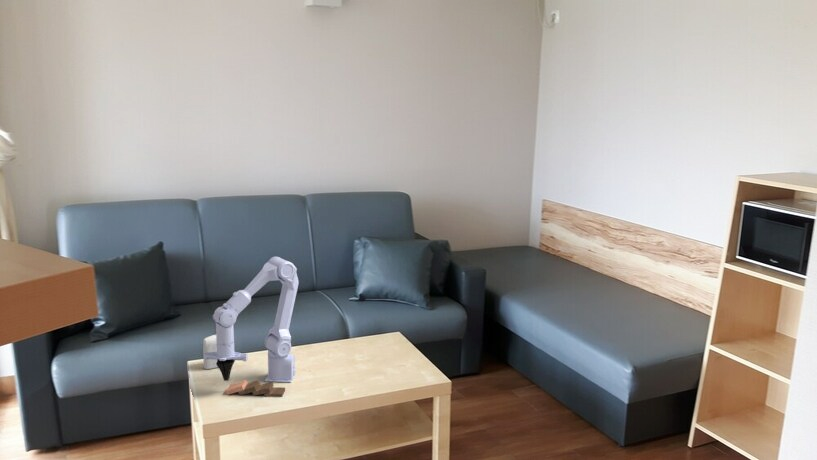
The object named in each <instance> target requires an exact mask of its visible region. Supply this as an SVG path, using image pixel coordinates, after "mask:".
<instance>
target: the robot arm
mask: <svg viewBox="0 0 817 460" xmlns="http://www.w3.org/2000/svg"><path fill="white" fill-rule="evenodd" d="M297 270H298V268H297V267H296V266H295V265H294V263H293V262H291V261H288V260H286V259H283V258H281V257H279V256H272V257H271V258H269V260H268V261H267V262H266V263H264V264H263V267H262V269H261V270H260V271H259V272H258V273H257V274H256V276H255V277H254V278H253V279H252V280H251V281H250V282H249V284H247V286H246V287H245V288H244V289H239V290H237V291H234V292H233V293H232V296H231V297H230V298H229V299H228V300H227V301H226V302H224V303H223V304H222V306H219V307H217V308H216V309H215V310H214V313H213V314H212V320H213V321H214V322H215V335H216V343H217V352H206V353H205V354H204V358H203V361H204V360H207V359H217V363H216V365H217V366H218V367H217V368H218V370H219V371H220V373H221V375H222V379H223V381H225V382H227V381H229V380H230V376H231V371H232V369H233V366H234V364H235V361H243V362H247V361H248V359H249V356H248V355H249V354H248V353H242V352H237V351H235V331H234V330H235V329H234V324H235V323H236V321H237V317H238V316H239V314H241V312H242V311H243V310H245V308H247V306H249V304H251V302H252V297H253V295H255V294H256V293H257V292H259V290H261V289H262V288H263V287H264V286H265V285H266V284H267V283H268V282H272V281H273V282H274V281H279V282H280V283H281V284H282V285H281V290H280V295H279V299H278V306H277V309H276V314H275V319H274V323H273V327H272V328H269V331H268V334H267V336H266V337H265V339H264V347H265V348H266V349H267V371H268V372H267V373H268V374H267V376H266V378H265V379H264V381H265V382H268V383H269V382H273V383H274V382H276V383H277V382H278V383H292V381H293V379H294V377H295V376H296V374H297V373H296V356H295V355H294V354H292V353H291V350H292V343H291V341H292V336H291V334H290V325H291V320H292V315H293V310H294V306H295V302H296V297H297V293H298V288H299V282H300V280H299V278H298V274H297Z"/></svg>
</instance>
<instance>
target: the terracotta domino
mask: <svg viewBox="0 0 817 460" xmlns="http://www.w3.org/2000/svg"><path fill="white" fill-rule="evenodd" d="M248 383H249V382H248V381H247V379H243V380H240V381H238V382H234V383H231V384H229V386H228V387H227V388H226V390H225V393H226V395H227V396H229V395H231V394H235V393H238V391H242V390H244V388H245V387H246V385H247V384H248Z"/></svg>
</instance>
